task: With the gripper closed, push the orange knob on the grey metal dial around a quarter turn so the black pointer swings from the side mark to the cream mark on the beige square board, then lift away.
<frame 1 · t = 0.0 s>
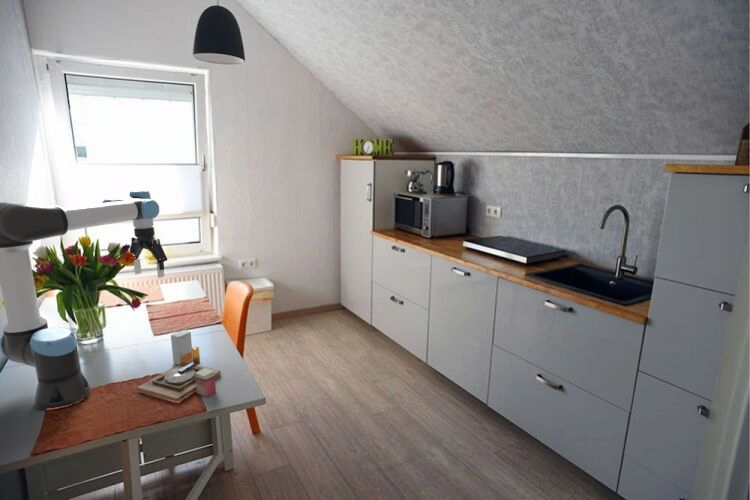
hand: (149, 275, 189), 28 cm above the table, tool pointing down, fingers open, 13 cm apart
small box: (206, 393, 149), on the table
beige square board: (180, 383, 155), on the table
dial: (183, 365, 155), point 6 cm above the table, hinge at 0.0°
skincare box: (183, 362, 171), on the table
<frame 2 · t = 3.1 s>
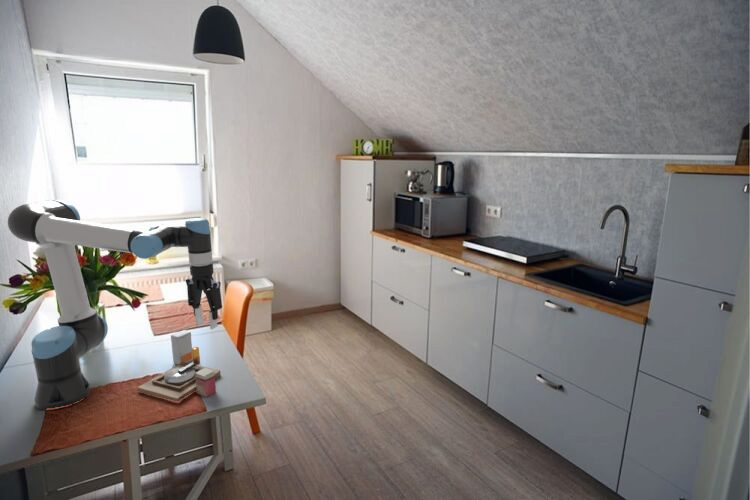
hand: (206, 326, 155), 20 cm above the table, tool pointing down, fingers open, 6 cm apart
nothing on the table moved.
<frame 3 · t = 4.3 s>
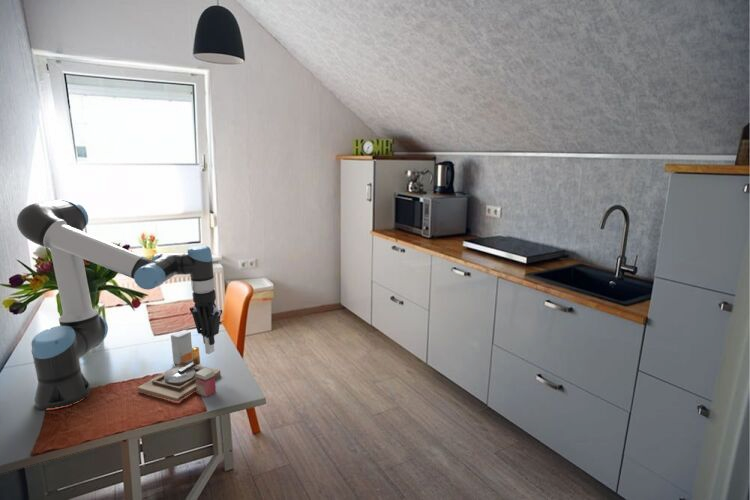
hand: (210, 352, 158), 10 cm above the table, tool pointing down, fingers closed
nothing on the table moved.
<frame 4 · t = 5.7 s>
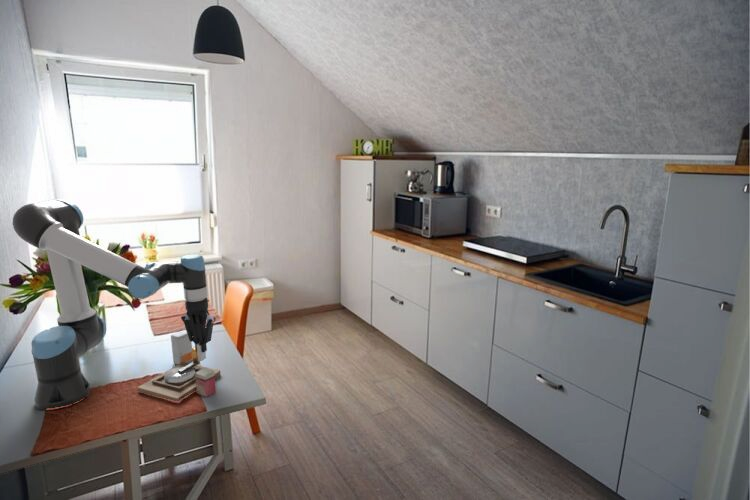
hand: (202, 359, 159), 6 cm above the table, tool pointing down, fingers closed
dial: (183, 365, 155), point 6 cm above the table, hinge at 0.2°, touching gripper
everything else where it was.
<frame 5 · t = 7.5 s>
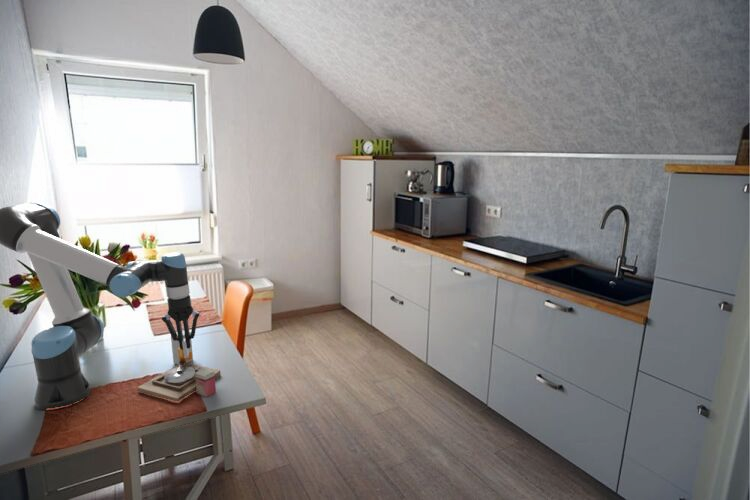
hand: (186, 356, 161), 7 cm above the table, tool pointing down, fingers closed
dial: (180, 365, 155), point 6 cm above the table, hinge at 38.9°, touching gripper
everything else where it was.
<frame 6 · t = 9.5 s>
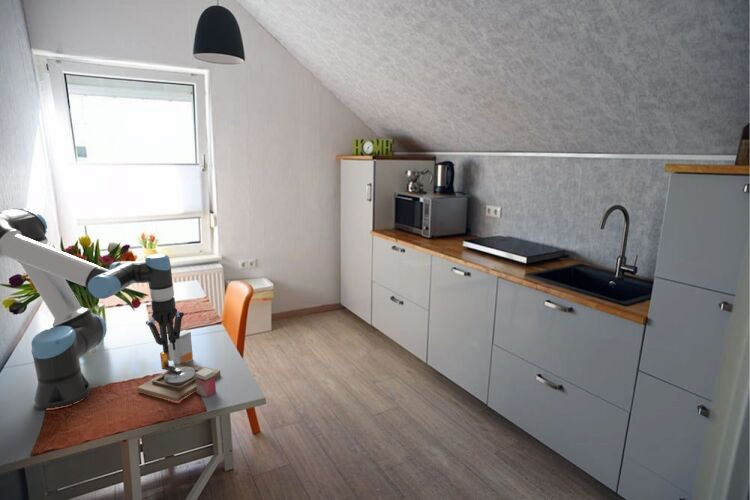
hand: (170, 359, 159), 7 cm above the table, tool pointing down, fingers closed
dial: (175, 366, 155), point 6 cm above the table, hinge at 82.4°
everything else where it was.
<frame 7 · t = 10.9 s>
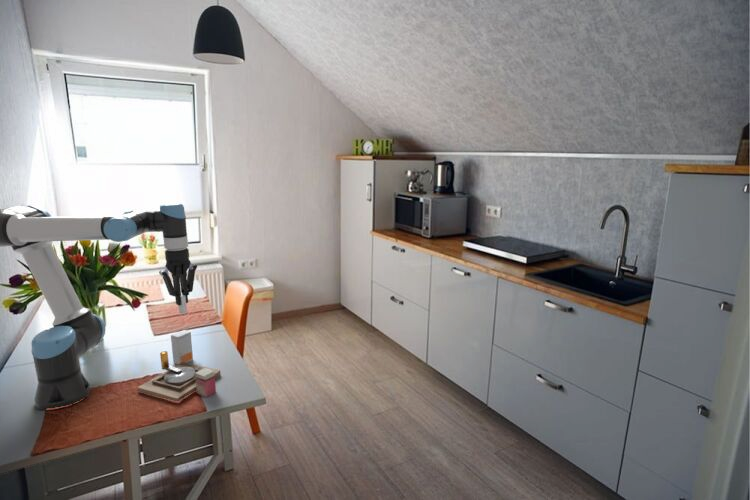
hand: (183, 312, 156), 24 cm above the table, tool pointing down, fingers closed
nothing on the table moved.
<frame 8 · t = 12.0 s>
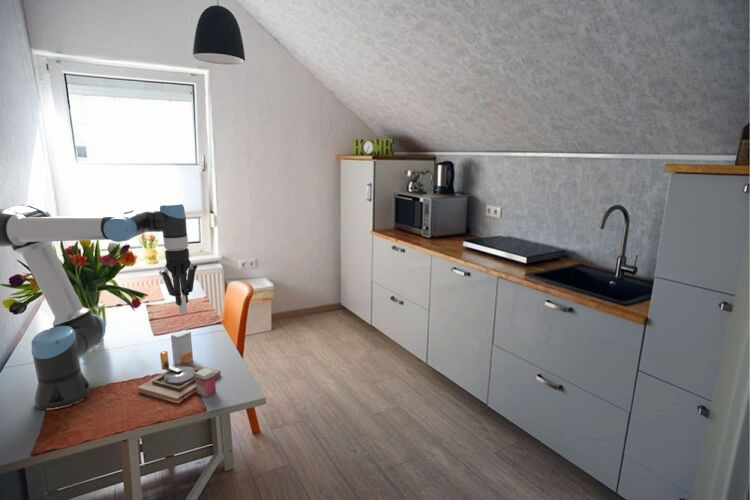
hand: (183, 312, 156), 24 cm above the table, tool pointing down, fingers closed
nothing on the table moved.
at the end: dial at +82° (first picture: +0°) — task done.
